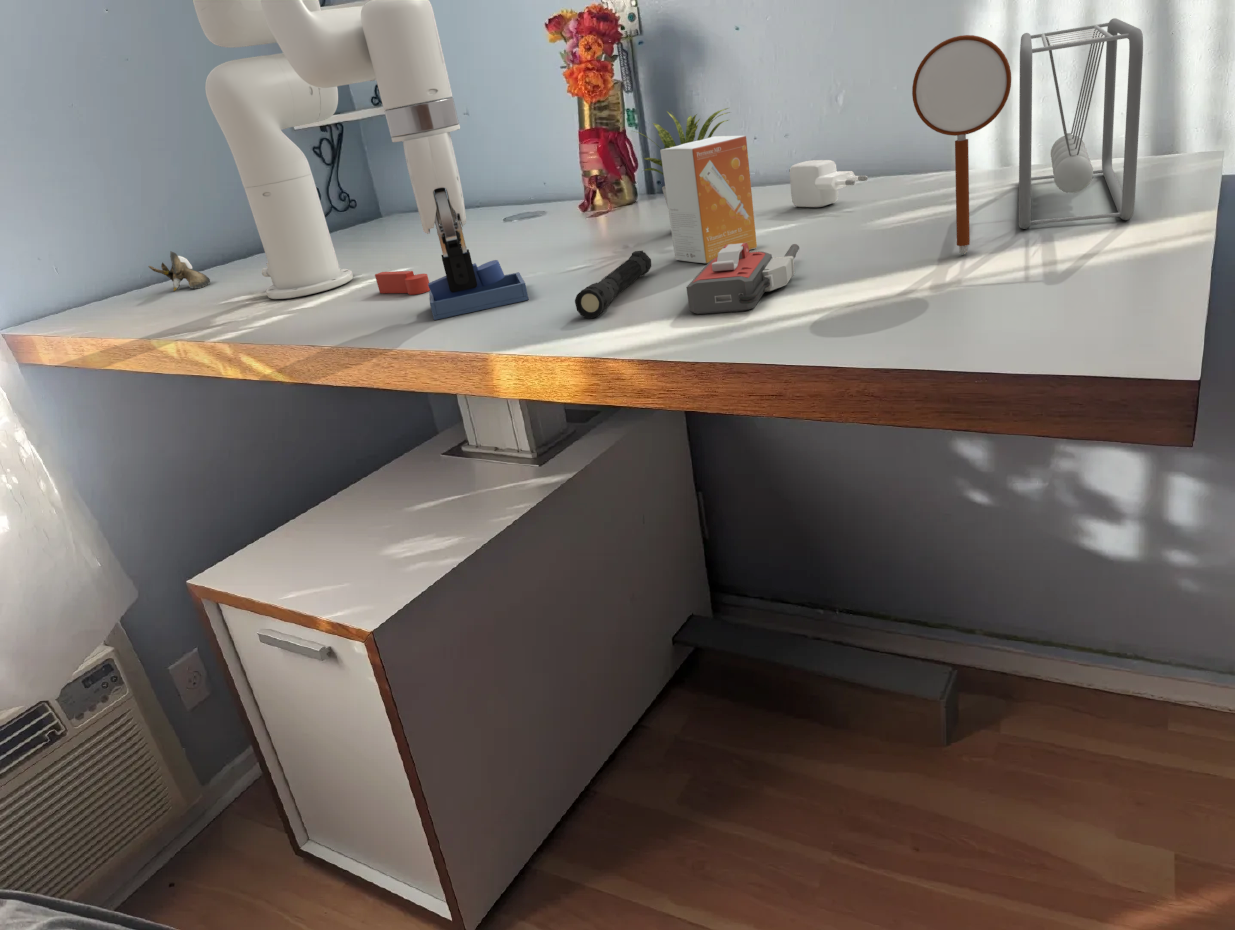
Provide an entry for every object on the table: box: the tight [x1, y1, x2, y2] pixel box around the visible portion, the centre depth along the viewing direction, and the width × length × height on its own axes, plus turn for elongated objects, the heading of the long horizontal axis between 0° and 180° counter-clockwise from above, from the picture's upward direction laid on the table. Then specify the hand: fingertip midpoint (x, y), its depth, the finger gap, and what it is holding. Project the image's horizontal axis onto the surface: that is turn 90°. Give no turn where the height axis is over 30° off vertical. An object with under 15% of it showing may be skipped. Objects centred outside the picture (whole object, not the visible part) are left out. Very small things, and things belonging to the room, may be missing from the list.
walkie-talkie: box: [686, 243, 800, 315], centre depth 93 cm, size 9×4×20 cm
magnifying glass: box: [911, 34, 1012, 256], centre depth 88 cm, size 9×2×20 cm, turn 65°
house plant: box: [632, 107, 731, 208], centre depth 125 cm, size 14×14×16 cm
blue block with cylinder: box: [428, 259, 506, 301], centre depth 107 cm, size 8×3×3 cm, turn 102°
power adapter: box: [789, 159, 869, 208], centre depth 126 cm, size 11×5×6 cm, turn 37°
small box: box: [659, 135, 758, 264], centre depth 108 cm, size 8×6×13 cm
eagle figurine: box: [148, 250, 211, 292], centre depth 157 cm, size 8×7×9 cm
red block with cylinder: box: [374, 270, 430, 296], centre depth 122 cm, size 8×3×3 cm, turn 57°
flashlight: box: [574, 250, 652, 319], centre depth 100 cm, size 3×16×3 cm, turn 160°
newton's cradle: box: [1018, 17, 1144, 230], centre depth 102 cm, size 30×10×18 cm, turn 159°
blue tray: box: [428, 271, 529, 321], centre depth 108 cm, size 11×7×2 cm, turn 102°
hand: (463, 286), depth 107 cm, fingers closed on blue block with cylinder
